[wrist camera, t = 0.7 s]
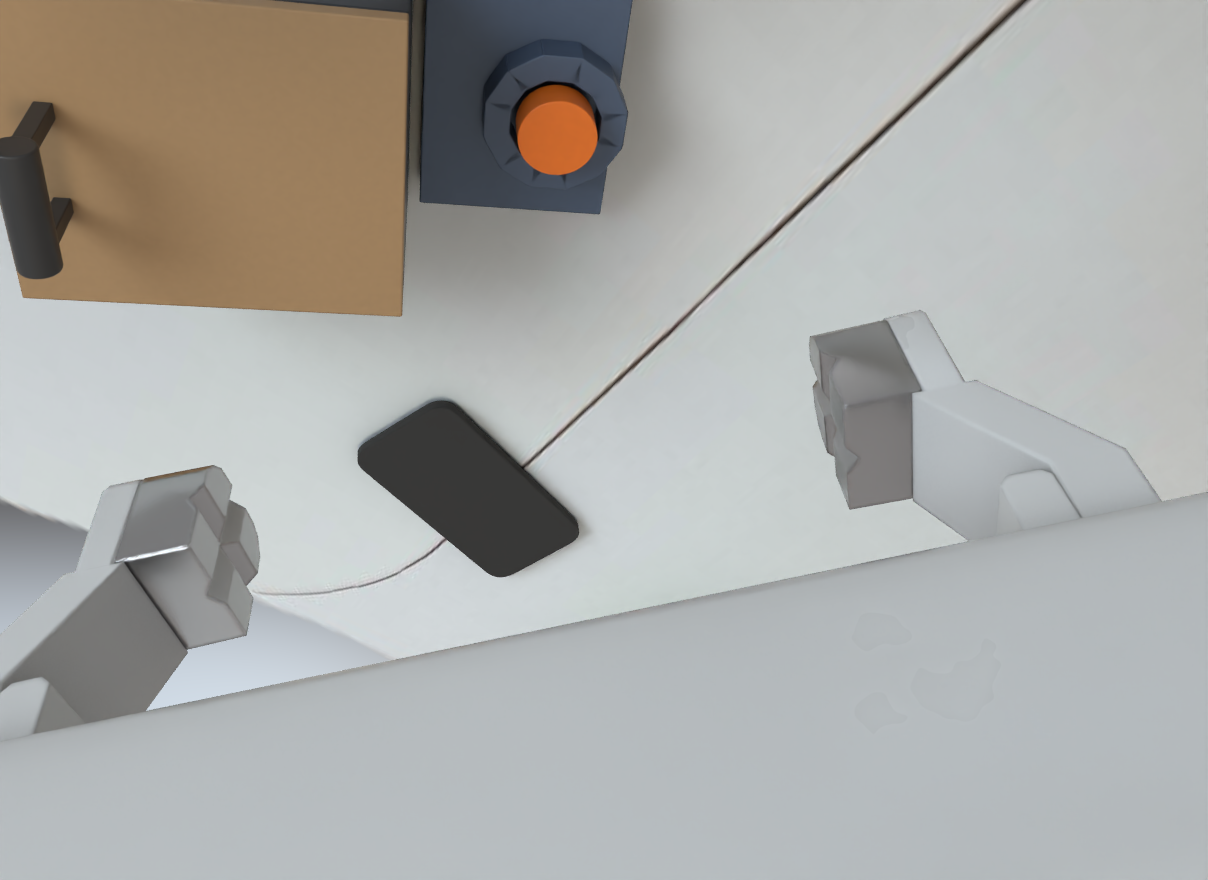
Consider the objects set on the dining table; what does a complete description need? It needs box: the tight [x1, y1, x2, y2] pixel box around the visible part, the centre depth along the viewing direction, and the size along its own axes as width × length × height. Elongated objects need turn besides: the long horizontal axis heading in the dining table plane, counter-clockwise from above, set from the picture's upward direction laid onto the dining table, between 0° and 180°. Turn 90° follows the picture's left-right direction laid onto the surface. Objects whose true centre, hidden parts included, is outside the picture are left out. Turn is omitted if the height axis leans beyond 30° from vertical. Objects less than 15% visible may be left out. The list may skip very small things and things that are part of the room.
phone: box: [358, 401, 579, 577], centre depth 72 cm, size 7×1×15 cm
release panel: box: [420, 0, 633, 214], centre depth 53 cm, size 9×11×4 cm
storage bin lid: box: [0, 0, 409, 317], centre depth 43 cm, size 16×13×5 cm
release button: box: [516, 85, 598, 175], centre depth 51 cm, size 4×4×2 cm
